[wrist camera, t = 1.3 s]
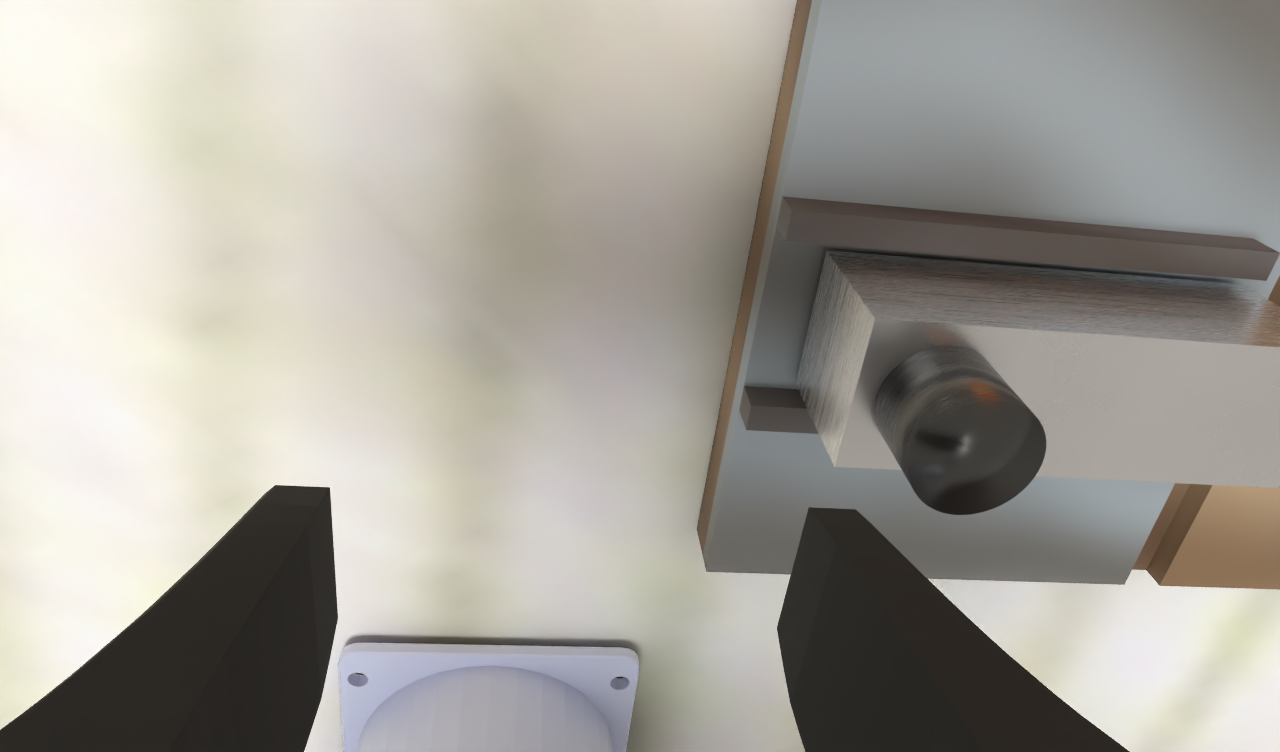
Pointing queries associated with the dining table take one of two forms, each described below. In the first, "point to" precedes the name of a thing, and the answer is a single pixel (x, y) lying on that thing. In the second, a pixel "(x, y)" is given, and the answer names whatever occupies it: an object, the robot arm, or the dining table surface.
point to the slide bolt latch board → (1003, 253)
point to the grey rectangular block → (1039, 377)
